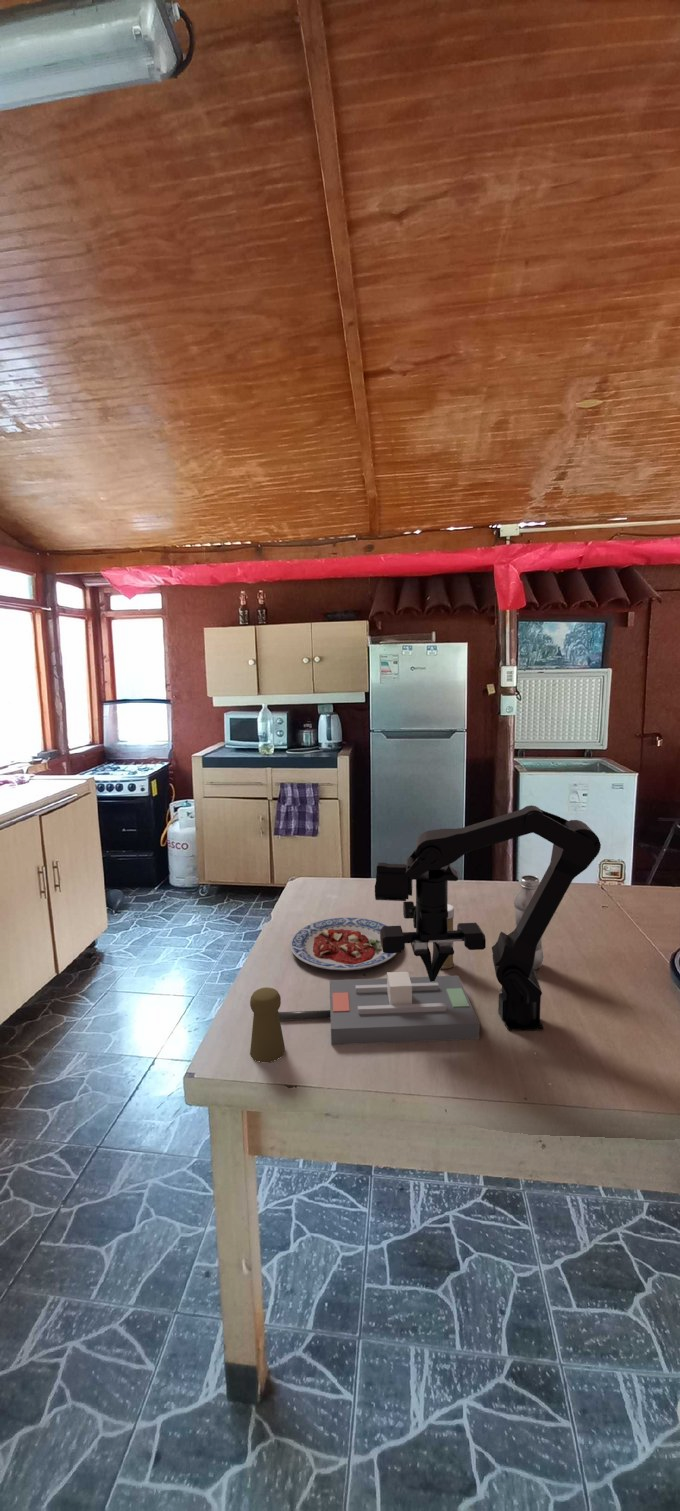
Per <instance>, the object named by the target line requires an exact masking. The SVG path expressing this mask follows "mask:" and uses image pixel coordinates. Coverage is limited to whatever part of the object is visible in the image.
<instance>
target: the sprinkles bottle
mask: <svg viewBox="0 0 680 1511" xmlns="http://www.w3.org/2000/svg"><path fill="white" fill-rule="evenodd" d="M454 917H455V908H454V906H453V905H451V904H449V903H448V920H447V930H449V931H452V930H454ZM452 947H453V948H454V943H453V944H452ZM454 965H455V964H454V954H453V955H449V956H448V958H447V959H446V961H445V962H444V964H443V965H442V967H441V969H440V970H447V969H448V970H449V969H451V968H453V966H454Z"/></svg>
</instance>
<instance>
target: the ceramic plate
mask: <svg viewBox="0 0 680 1511" xmlns="http://www.w3.org/2000/svg"><path fill="white" fill-rule="evenodd" d="M383 926H388V925H386V924H384V923H382V922H379V921H376V920H373V919H368V918H362V917H332V918H328V919H327V918H326V919H322V920H319V921H315V922H311V923H310V924H307V925H305V926H304V927H301V928H300V929H299V930H297V931H296V932H295V933H294V934H293V935H292V937H291V939H290V942H289V943H290V946H289V947H290V950H291V952H292V953H293V955H294V956H295V957H296V958H297V959H298V960H300V961H301V962H303V963H305V964H308V965H310V966H312V967H314V968H315V967H316V968H320V969H324V970H330V971H356V970H363V969H369V968H372V967H376V966H379V965H381V964H383V963H385V962H388V961H390V960H391V959H392V958H394V957H395V956H396V955H397V954H398V953H384V952H383V950H382V945H381V940H380V930H381V928H382V927H383ZM361 933H362V934H361ZM370 937H372V938H370Z"/></svg>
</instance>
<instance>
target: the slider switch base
mask: <svg viewBox="0 0 680 1511" xmlns="http://www.w3.org/2000/svg"><path fill="white" fill-rule="evenodd" d="M409 977H410V976H409ZM410 981H411V984H412V1004H402V1005H390V1003H389V998H388V993H387V977H384V978H379V977H378V978H357V979H353V978H352V979H329V1008H330V1009H327V1010H326V1009H325V1010H322V1009H321V1010H303V1011H302V1010H299V1011H298V1010H297V1011H278V1012H279V1018H280V1021H294V1020H296V1021H297V1020H321V1019H323V1020H324V1019H330V1043H331V1046H333V1045H334V1046H335V1045H355V1044H357V1045H359V1044H382V1043H383V1044H385V1043H406V1042H407V1043H409V1042H411V1043H412V1042H413V1043H414V1042H437V1041H438V1042H439V1041H458V1040H461V1041H463V1040H479V1039H480V1021H479V1019H478V1017H477V1015H476V1013H475V1011H474V1008H473V1006H472V1004H471V1001H470V999H469V997H468V994H467V993H466V990H465V988H464V985H463V983H462V981H461V979H460V977H459V975H439V976H438V975H437V977H436V979H435V981H432V982H430V979H429V976H413V977H412V976H411V977H410Z"/></svg>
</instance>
